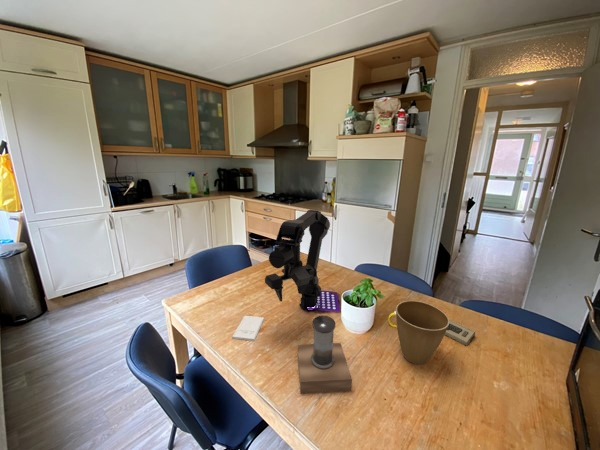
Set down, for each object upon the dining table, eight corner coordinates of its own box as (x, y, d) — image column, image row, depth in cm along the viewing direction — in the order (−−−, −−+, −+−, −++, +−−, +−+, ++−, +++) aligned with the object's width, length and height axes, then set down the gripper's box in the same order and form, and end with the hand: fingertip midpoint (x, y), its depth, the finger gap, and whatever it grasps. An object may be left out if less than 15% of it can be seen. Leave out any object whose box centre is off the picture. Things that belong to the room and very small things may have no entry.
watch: (403, 326, 97) (406, 313, 96) (403, 331, 95) (406, 317, 93) (387, 322, 99) (390, 309, 98) (387, 326, 97) (389, 313, 95)
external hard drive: (264, 320, 100) (254, 342, 89) (244, 318, 102) (232, 340, 90) (264, 317, 100) (254, 338, 88) (244, 315, 101) (231, 336, 89)
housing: (318, 348, 80) (319, 312, 76) (337, 358, 76) (340, 320, 73) (306, 362, 74) (307, 324, 71) (327, 373, 71) (329, 333, 67)
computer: (421, 324, 99) (422, 317, 98) (430, 316, 104) (432, 309, 103) (465, 347, 87) (467, 339, 86) (474, 337, 92) (476, 330, 91)
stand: (297, 355, 82) (297, 344, 81) (339, 353, 83) (340, 342, 82) (300, 393, 69) (300, 381, 68) (351, 391, 70) (352, 379, 69)
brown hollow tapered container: (381, 347, 86) (385, 306, 82) (414, 336, 92) (419, 296, 88) (416, 382, 73) (424, 335, 69) (452, 366, 78) (461, 321, 74)
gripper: (279, 272, 76) (280, 317, 81) (327, 259, 87) (325, 299, 91) (263, 260, 85) (264, 301, 89) (308, 249, 96) (307, 286, 100)
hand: (291, 297), depth 92 cm, fingers open, 9 cm apart
